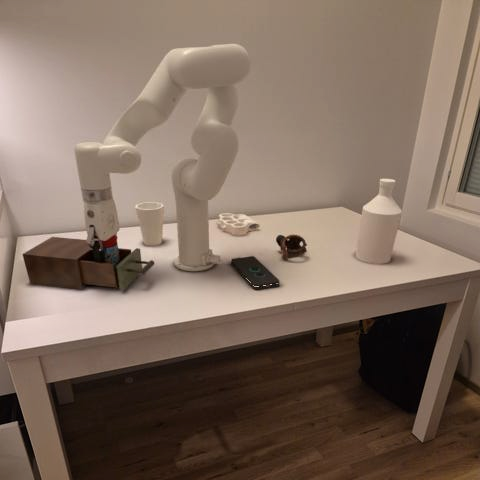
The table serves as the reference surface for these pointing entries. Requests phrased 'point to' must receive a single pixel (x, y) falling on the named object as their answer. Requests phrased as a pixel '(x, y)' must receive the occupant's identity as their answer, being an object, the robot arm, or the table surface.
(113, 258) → the beverage can
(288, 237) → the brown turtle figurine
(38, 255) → the cabinet
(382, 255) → the bottle
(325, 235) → the table surface
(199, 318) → the table surface
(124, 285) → the drawer
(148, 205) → the foam cup
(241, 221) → the white multi well tray
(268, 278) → the black flat slab
